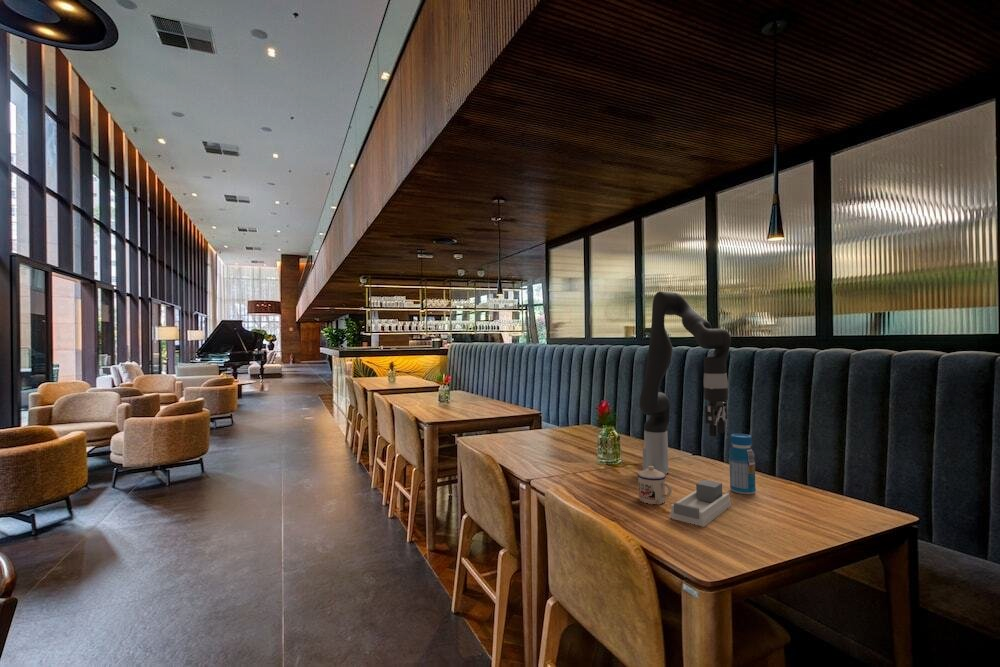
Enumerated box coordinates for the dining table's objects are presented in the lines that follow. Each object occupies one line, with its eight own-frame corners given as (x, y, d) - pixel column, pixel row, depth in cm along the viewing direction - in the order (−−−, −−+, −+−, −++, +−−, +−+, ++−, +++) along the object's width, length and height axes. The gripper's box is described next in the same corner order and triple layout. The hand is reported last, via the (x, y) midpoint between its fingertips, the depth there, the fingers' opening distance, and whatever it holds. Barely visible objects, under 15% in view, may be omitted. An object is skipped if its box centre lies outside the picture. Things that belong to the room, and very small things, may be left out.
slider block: (696, 499, 149) (696, 483, 149) (703, 494, 153) (703, 479, 153) (715, 503, 145) (715, 487, 145) (722, 498, 149) (721, 483, 149)
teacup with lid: (632, 499, 156) (631, 465, 156) (648, 494, 162) (648, 461, 162) (663, 509, 146) (662, 473, 147) (679, 503, 152) (678, 468, 152)
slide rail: (669, 518, 139) (669, 502, 139) (699, 499, 155) (699, 484, 156) (703, 527, 132) (702, 510, 132) (730, 506, 148) (730, 490, 149)
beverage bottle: (733, 494, 160) (731, 437, 161) (727, 486, 168) (725, 432, 169) (759, 495, 158) (757, 438, 159) (752, 488, 166) (750, 433, 167)
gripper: (712, 384, 164) (713, 430, 163) (696, 387, 154) (698, 436, 153) (734, 385, 159) (736, 432, 158) (719, 388, 148) (721, 439, 148)
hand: (717, 434), depth 155 cm, fingers open, 7 cm apart
